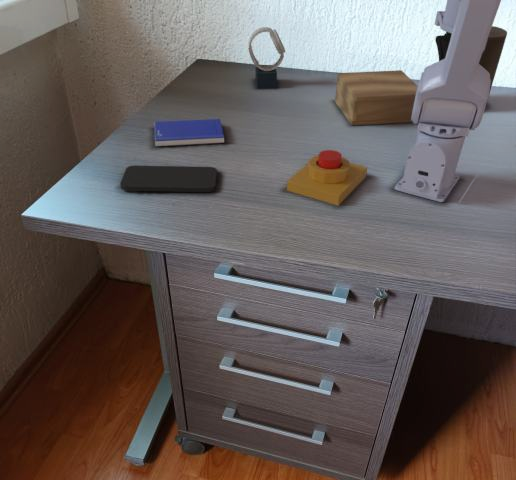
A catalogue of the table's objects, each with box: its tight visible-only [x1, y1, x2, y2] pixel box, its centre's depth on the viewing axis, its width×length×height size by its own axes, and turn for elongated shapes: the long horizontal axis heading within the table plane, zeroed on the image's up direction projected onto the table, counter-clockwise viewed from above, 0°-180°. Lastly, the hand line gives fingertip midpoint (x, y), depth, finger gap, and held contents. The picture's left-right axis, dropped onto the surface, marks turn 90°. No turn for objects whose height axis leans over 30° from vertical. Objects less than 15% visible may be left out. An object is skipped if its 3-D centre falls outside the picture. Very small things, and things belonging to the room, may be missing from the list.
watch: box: [247, 26, 286, 89], centre depth 114 cm, size 6×8×11 cm
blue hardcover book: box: [154, 118, 225, 147], centre depth 97 cm, size 2×8×12 cm
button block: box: [286, 154, 368, 206], centre depth 84 cm, size 11×9×4 cm
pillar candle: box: [479, 25, 508, 105], centre depth 106 cm, size 10×10×15 cm
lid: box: [337, 69, 418, 101], centre depth 103 cm, size 13×14×1 cm
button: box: [318, 149, 343, 169], centre depth 83 cm, size 4×4×2 cm
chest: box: [334, 77, 415, 126], centre depth 106 cm, size 13×14×5 cm
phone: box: [120, 165, 218, 193], centre depth 85 cm, size 7×1×15 cm
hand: (445, 85), depth 89 cm, fingers closed
